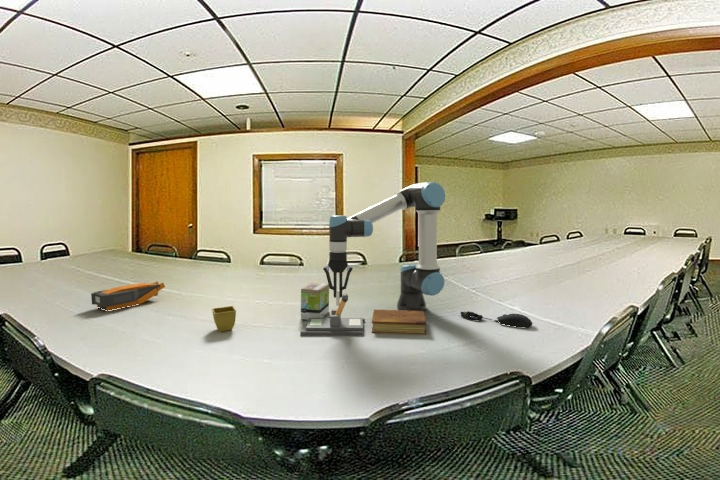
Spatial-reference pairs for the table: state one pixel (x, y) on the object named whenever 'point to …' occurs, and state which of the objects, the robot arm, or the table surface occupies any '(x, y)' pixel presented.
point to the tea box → (314, 301)
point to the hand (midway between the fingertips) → (337, 304)
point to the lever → (342, 304)
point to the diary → (399, 322)
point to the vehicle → (125, 295)
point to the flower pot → (224, 318)
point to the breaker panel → (335, 323)
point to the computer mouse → (503, 319)
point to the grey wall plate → (332, 333)
